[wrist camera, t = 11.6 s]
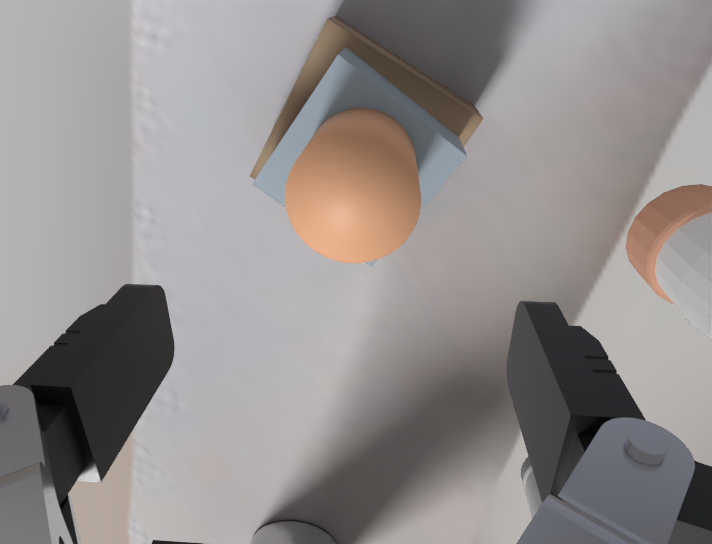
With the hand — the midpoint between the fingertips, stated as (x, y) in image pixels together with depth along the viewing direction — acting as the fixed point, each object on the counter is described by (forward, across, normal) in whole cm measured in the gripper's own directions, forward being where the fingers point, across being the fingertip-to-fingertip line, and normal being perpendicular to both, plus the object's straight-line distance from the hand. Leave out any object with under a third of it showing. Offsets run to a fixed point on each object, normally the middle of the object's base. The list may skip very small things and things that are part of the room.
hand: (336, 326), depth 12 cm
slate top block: (+20, +1, +1) cm, 20 cm away
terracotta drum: (+16, 0, +1) cm, 16 cm away
